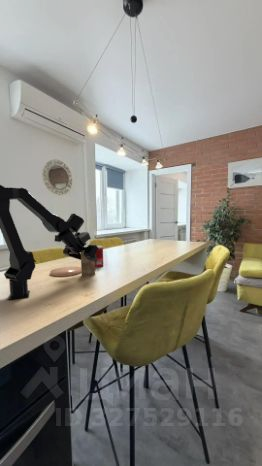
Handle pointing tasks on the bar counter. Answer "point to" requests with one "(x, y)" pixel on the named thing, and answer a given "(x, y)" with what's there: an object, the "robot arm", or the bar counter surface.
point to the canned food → (99, 257)
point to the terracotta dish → (65, 271)
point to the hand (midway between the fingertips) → (89, 260)
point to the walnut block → (87, 266)
